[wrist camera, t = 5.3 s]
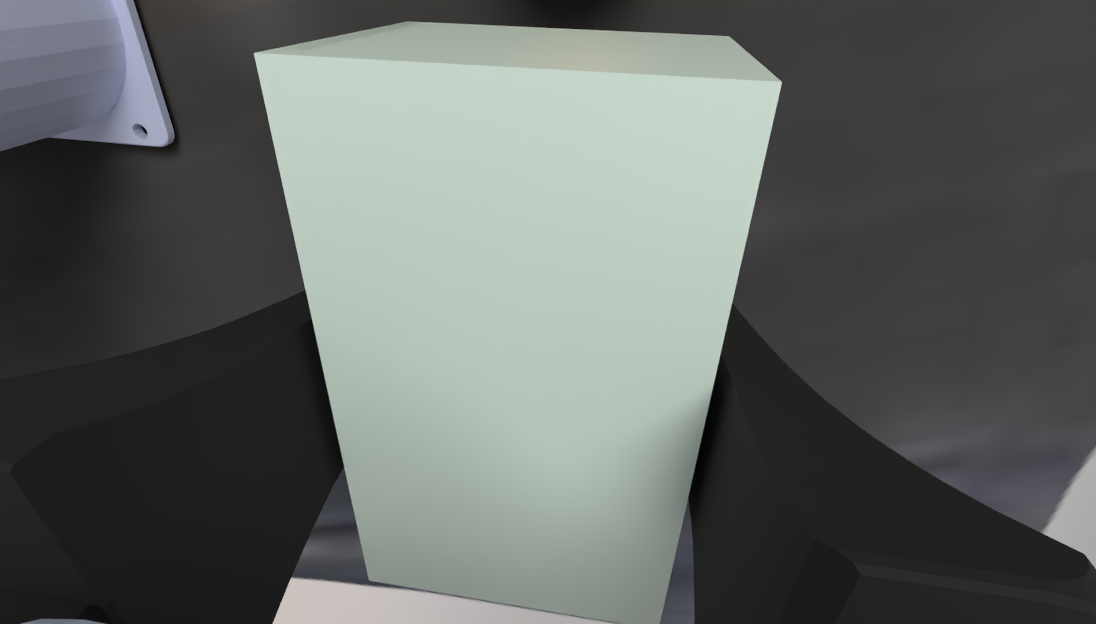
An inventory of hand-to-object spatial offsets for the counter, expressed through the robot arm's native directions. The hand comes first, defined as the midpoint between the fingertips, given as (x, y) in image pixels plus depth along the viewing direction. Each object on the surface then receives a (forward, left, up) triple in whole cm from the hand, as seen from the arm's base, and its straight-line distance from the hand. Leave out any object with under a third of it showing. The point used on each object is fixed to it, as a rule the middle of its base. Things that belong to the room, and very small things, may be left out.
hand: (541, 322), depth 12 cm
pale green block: (0, 0, -2) cm, 2 cm away
